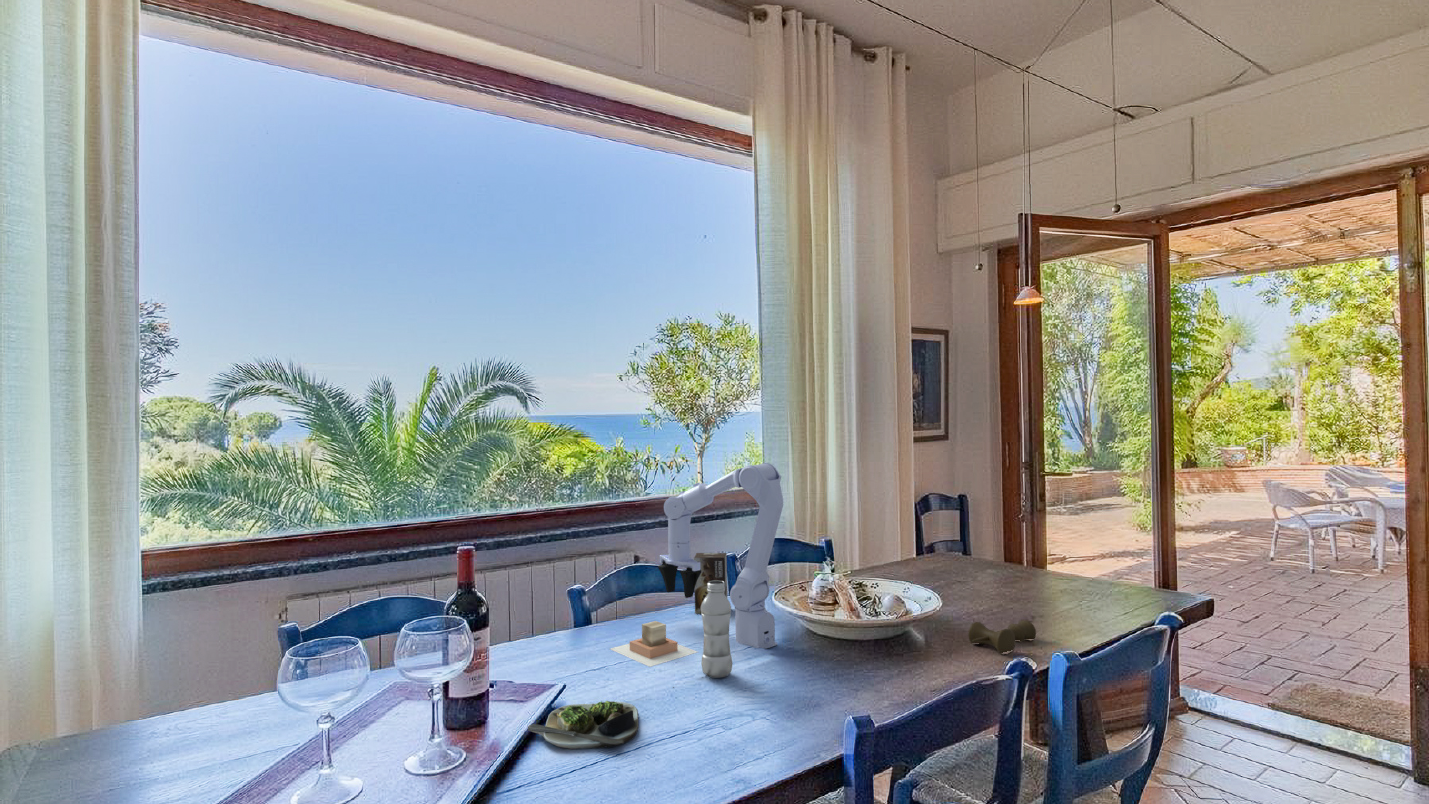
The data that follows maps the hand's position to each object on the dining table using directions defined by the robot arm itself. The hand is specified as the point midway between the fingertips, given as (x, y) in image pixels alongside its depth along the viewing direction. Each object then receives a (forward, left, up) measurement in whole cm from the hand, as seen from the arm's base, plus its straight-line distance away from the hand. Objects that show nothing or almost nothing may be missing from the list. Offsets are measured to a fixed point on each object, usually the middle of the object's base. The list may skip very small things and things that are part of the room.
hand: (679, 594), depth 181 cm
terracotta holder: (-10, +16, -8) cm, 21 cm away
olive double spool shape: (-62, -49, -10) cm, 80 cm away
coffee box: (+8, -18, -10) cm, 22 cm away
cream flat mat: (-10, +16, -9) cm, 21 cm away
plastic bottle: (-30, +14, -10) cm, 34 cm away
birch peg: (-10, +16, -8) cm, 20 cm away
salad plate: (-34, +47, -10) cm, 59 cm away
